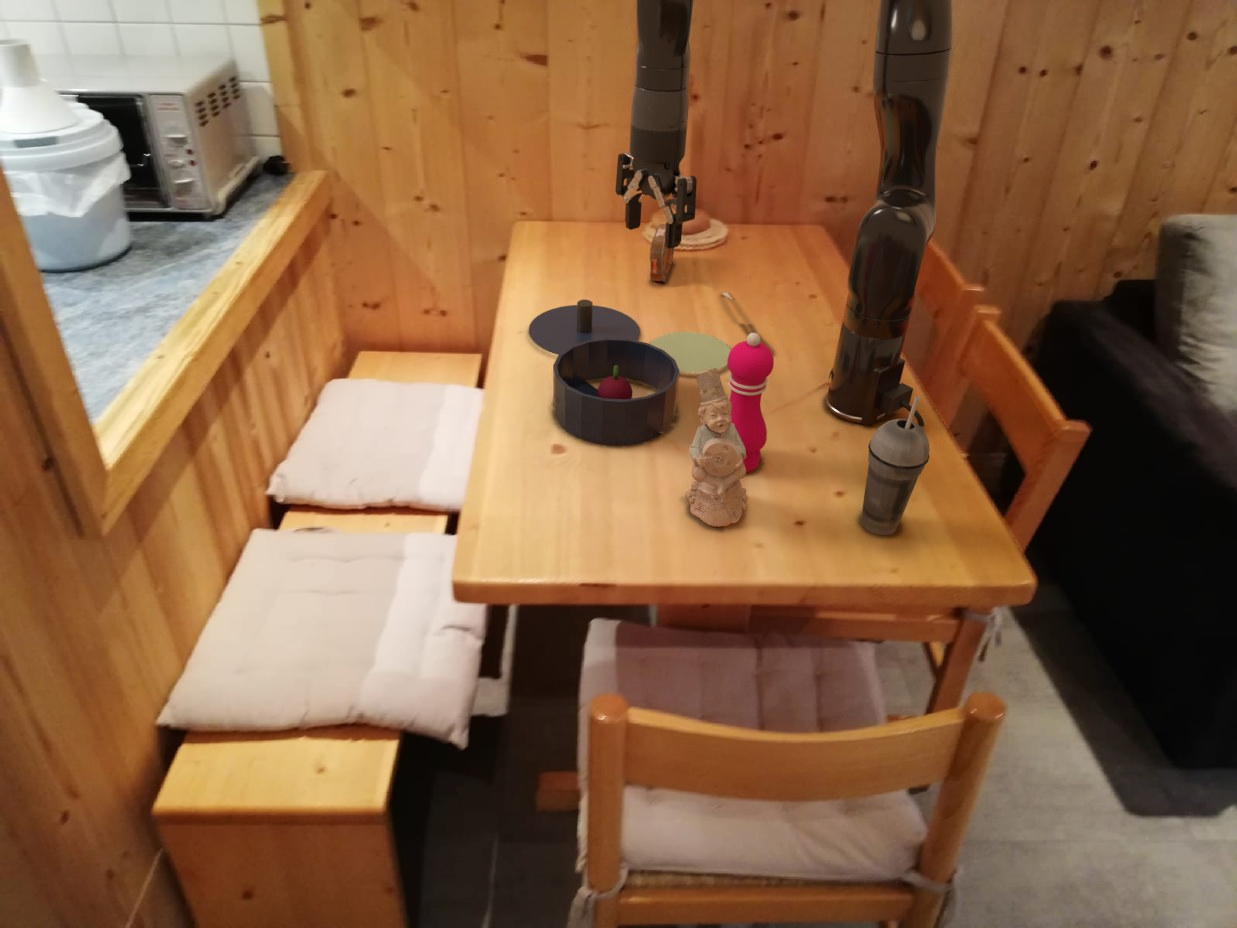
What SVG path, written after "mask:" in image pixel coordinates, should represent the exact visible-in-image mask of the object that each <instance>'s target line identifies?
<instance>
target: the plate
mask: <svg viewBox="0 0 1237 928" xmlns="http://www.w3.org/2000/svg"><path fill="white" fill-rule="evenodd" d="M650 344H651V345H653V346H655V347H657V348H660V349H662V350H664V351H665V352H666V353H667V354H669V355H670V356H671V357H672V358H673V359H675V361H676V364H677V366H678V368H679V373H685V374H686V373H688V374H696V373H698V372H700V371H703V370H707V369H709V368H714V367H715V368H716V369H717V371H718V370H721V369H723V368H725V367H726V366H728V365H727V360H728V356H729V353H730V351H731V349H732V348H730V346H729V345H728V344H727V343H726V342H724V341H723V340H722V339H719V338H718V337H715V336H712V335H710V334H706V333H702V332H696V331H676V332H670V333H665V334H662V335H659V336H658V337H656V338H654V339H653V340H651V342H650Z"/></svg>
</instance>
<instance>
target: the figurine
mask: <svg viewBox="0 0 1237 928" xmlns="http://www.w3.org/2000/svg"><path fill="white" fill-rule="evenodd" d="M695 378H696V384H697V389H698V394H699V399H700V400H699V401H700V403H699V407H698V409H697V412H698V413H697V416H698V418H699V420H700V422H701V424H702V425H698V426H697V429H696V431H695V434H694V437H693V439H692V443H691V444H690V446H689V451H688V452H689V457H690V459H691V461H692V468H691V477H692V479H693V480H694V481H693V482H692V483H691V488H689V490H687V491H686V492H685V493H684V498H685V499H686V500H687V501H688V502H689V504H690V508H689V510H690V513H691V514H692V516H695V517H697V518H698V519H699V520H701V521H702V522H704V524H706V525H708V526H711V527H726V526H729V525H731V524H736V523H737V522H739V520H740V519H741V517H742V515H743V511H747V509H748V507H747V505H748V504H747V502H748V499H749V498H748V495H747V488H745V487H743V486H742V482H741V480H742V479H744V478H745V476H746V474H747V472H746V468H745V465H744V463H743V459H746V450H745V446H744V444H743V442H742V440H741V438H740V436H739V434H738V432H737V430H736V428H735V425H734V423H731V408H732V404H731V402H730V399H728V396H727V394H726V391H725V390H724V387H723V383H722V380H721V377H720V374H719V371H718V370H717V369H716V368H715V367H714V368H709V369H707V370H703V371H700V372H698V373H695Z"/></svg>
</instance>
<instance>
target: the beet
mask: <svg viewBox="0 0 1237 928" xmlns="http://www.w3.org/2000/svg"><path fill="white" fill-rule="evenodd" d="M597 389H598V397H600V398H604V399H632V398H633V388H632V386H631V383H630V382H629V381H628V379H625V378H622V377H620V376H618V366H617V365H615V366H614V373H613V376H611V377H608V378H603V380H602V381H601V382H600V384H599V385H598V387H597Z"/></svg>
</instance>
